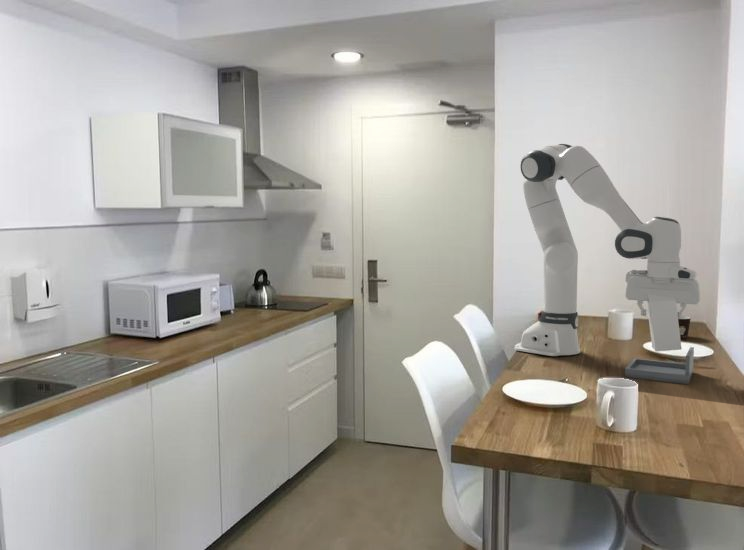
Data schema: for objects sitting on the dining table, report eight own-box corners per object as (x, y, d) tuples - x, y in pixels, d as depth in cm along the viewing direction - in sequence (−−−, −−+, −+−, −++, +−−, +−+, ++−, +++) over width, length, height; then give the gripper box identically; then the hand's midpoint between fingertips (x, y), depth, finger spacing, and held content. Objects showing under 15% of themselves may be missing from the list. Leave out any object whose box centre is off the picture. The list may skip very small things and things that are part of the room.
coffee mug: (690, 342, 233) (691, 316, 232) (688, 346, 225) (689, 319, 224) (657, 339, 239) (658, 314, 238) (654, 343, 232) (655, 317, 231)
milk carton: (681, 350, 179) (674, 286, 178) (655, 352, 181) (648, 289, 180) (677, 345, 186) (670, 284, 185) (652, 347, 188) (644, 287, 187)
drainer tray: (624, 376, 182) (625, 350, 182) (633, 365, 196) (634, 341, 195) (688, 384, 173) (689, 356, 173) (693, 372, 187) (694, 346, 186)
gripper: (624, 270, 185) (622, 315, 186) (700, 273, 174) (697, 321, 175) (627, 268, 190) (625, 312, 191) (701, 272, 179) (699, 318, 181)
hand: (660, 316), depth 183 cm, fingers closed on milk carton, 8 cm apart
